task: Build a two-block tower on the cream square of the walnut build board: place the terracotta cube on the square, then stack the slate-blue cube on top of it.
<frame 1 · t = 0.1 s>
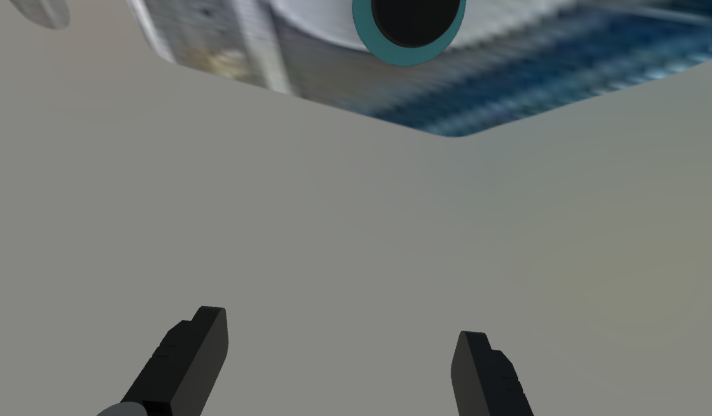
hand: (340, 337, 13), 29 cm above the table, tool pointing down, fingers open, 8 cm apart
beverage bottle: (393, 16, 35), on the table
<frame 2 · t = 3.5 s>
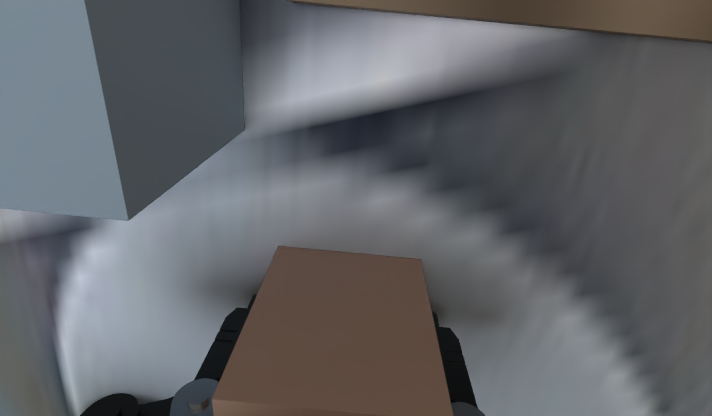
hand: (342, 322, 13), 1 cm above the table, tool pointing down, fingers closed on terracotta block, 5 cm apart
terracotta block: (344, 308, 14), on the table, touching gripper
slate block: (151, 30, 10), on the table
when the fingers open (3 cm above the table, at t = 8.3 s): terracotta block stays where it is, resting on build board.
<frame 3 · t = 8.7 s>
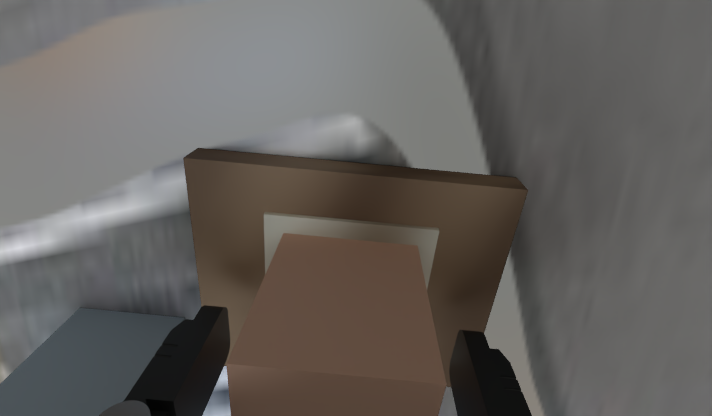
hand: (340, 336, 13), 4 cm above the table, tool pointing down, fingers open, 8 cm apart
terracotta block: (345, 293, 15), point 1 cm above the table, touching build board
build board: (347, 272, 16), on the table
slate block: (141, 350, 19), on the table
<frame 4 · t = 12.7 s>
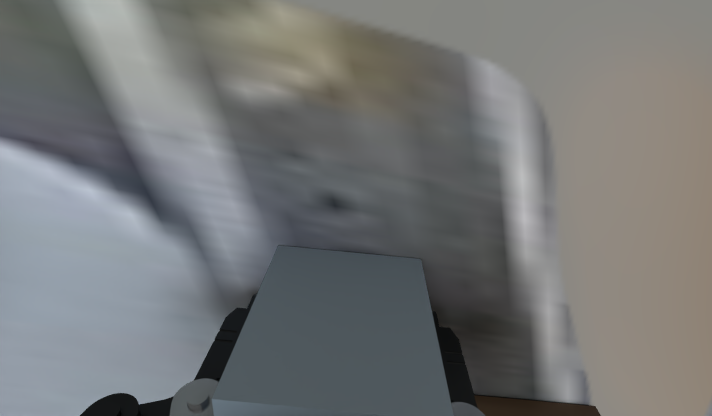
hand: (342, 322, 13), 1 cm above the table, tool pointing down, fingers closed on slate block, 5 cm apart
slate block: (344, 307, 14), on the table, touching gripper
when the fingers open (9 cm above the table, at t = 17.2 s): slate block stays where it is, resting on terracotta block.
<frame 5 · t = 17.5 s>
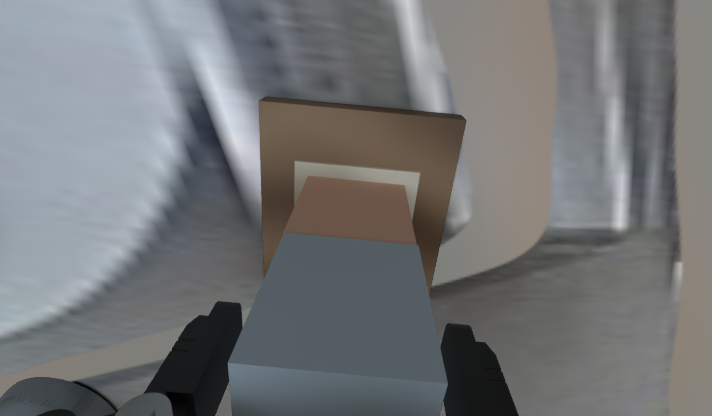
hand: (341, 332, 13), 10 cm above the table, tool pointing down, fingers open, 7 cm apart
terracotta block: (352, 223, 20), point 1 cm above the table, touching build board, slate block
build board: (353, 211, 22), on the table
slate block: (346, 292, 15), point 7 cm above the table, touching terracotta block
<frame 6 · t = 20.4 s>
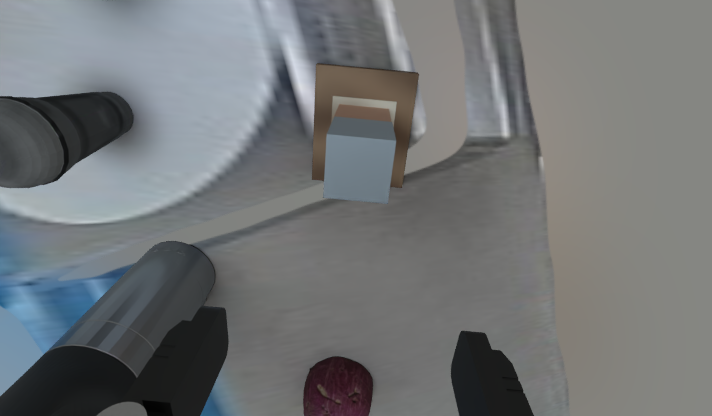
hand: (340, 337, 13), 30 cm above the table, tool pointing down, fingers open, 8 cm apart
vegetable: (339, 379, 57), on the table
terracotta block: (361, 130, 39), point 1 cm above the table, touching build board, slate block
build board: (362, 127, 40), on the table
beverage cup: (113, 113, 40), on the table
slate block: (360, 147, 33), point 7 cm above the table, touching terracotta block
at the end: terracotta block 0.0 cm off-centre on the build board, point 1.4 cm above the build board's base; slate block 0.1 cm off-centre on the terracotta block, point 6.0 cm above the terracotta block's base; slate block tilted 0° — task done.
